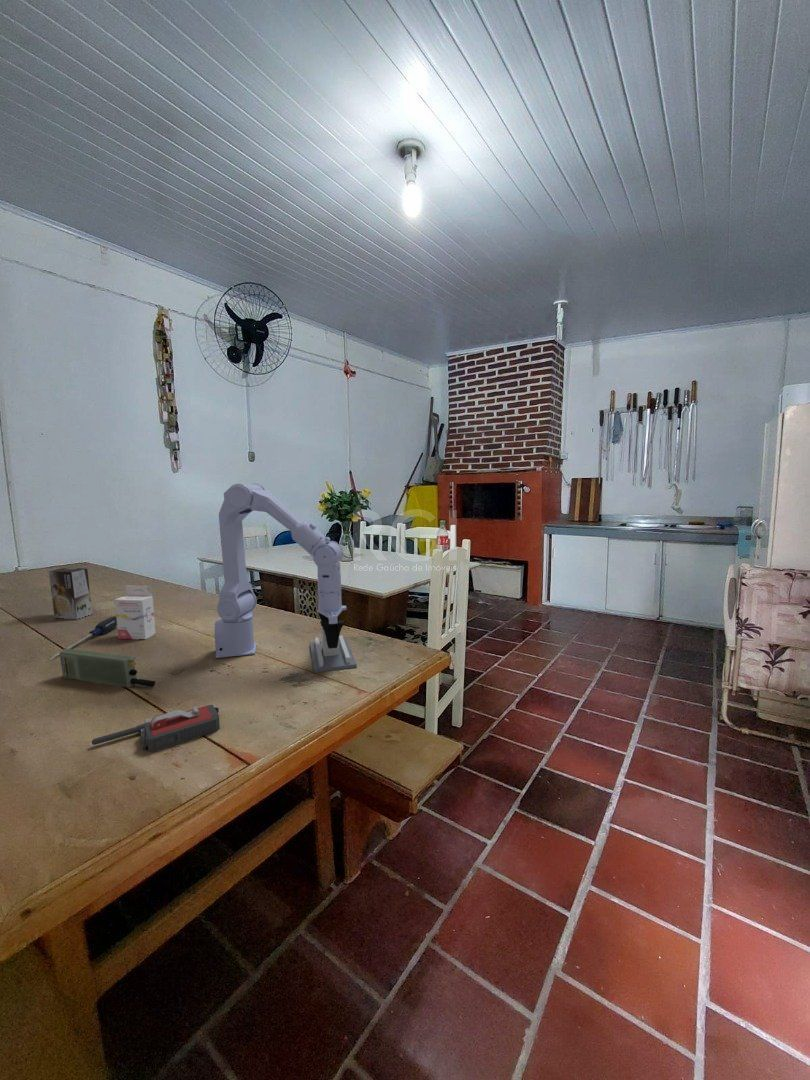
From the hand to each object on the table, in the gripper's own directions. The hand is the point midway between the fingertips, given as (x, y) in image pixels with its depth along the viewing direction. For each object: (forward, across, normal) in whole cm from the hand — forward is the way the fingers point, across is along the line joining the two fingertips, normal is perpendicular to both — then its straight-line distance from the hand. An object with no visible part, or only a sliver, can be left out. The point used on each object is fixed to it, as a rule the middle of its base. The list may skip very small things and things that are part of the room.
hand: (331, 642), depth 113 cm
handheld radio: (+4, -1, +50) cm, 50 cm away
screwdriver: (+4, +29, +66) cm, 72 cm away
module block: (+3, 0, 0) cm, 3 cm away
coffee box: (+4, +58, +80) cm, 99 cm away
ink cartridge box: (+4, +30, +53) cm, 61 cm away
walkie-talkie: (+4, -28, +32) cm, 43 cm away
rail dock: (+3, 0, 0) cm, 3 cm away
